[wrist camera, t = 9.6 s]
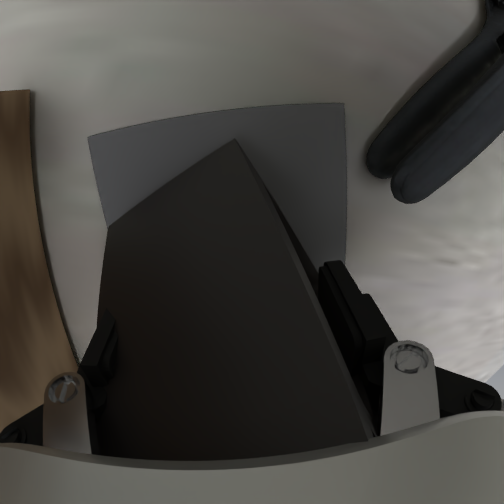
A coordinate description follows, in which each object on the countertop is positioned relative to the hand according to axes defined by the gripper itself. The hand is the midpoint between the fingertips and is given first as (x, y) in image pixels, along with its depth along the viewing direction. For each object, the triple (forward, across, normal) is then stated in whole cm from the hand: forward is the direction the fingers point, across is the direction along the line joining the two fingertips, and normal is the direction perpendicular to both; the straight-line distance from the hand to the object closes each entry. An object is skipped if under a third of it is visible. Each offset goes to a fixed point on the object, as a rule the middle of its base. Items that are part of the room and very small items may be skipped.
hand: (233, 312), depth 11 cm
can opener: (+5, -13, -9) cm, 17 cm away
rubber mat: (+5, 0, 0) cm, 5 cm away
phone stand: (+3, 0, 0) cm, 3 cm away
